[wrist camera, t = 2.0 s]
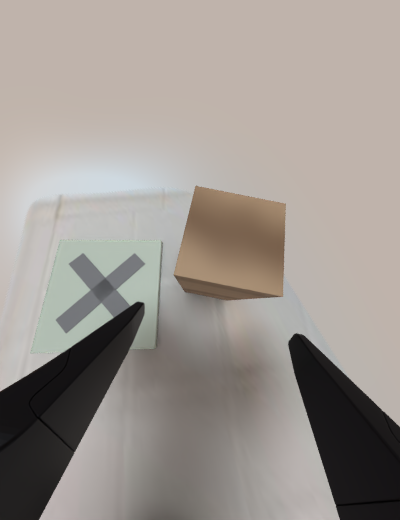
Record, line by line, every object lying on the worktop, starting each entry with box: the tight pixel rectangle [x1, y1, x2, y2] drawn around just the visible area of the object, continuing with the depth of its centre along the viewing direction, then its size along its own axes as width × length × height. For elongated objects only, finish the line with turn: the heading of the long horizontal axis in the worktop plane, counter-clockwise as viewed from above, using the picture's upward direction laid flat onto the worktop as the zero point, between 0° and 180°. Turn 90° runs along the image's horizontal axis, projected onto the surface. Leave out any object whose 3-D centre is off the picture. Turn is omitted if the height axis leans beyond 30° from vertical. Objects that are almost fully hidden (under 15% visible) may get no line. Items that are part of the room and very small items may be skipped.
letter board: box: [30, 240, 162, 353], centre depth 19 cm, size 14×14×1 cm
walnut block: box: [174, 186, 286, 300], centre depth 15 cm, size 6×6×13 cm
